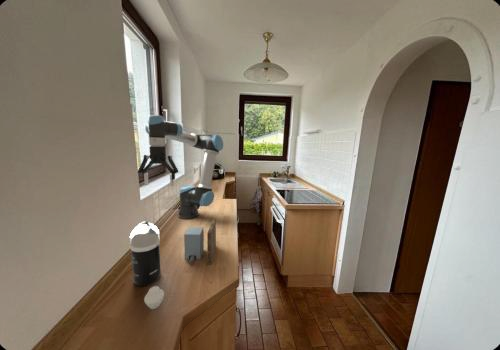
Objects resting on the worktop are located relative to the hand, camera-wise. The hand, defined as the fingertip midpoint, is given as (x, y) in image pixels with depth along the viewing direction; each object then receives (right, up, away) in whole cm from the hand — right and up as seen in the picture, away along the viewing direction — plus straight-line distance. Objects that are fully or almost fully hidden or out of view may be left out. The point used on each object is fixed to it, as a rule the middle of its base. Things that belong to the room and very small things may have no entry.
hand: (159, 185), depth 100 cm
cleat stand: (+26, -35, -6) cm, 44 cm away
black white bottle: (+7, -38, -24) cm, 45 cm away
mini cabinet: (+21, -35, -6) cm, 41 cm away
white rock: (+17, -40, -36) cm, 56 cm away
